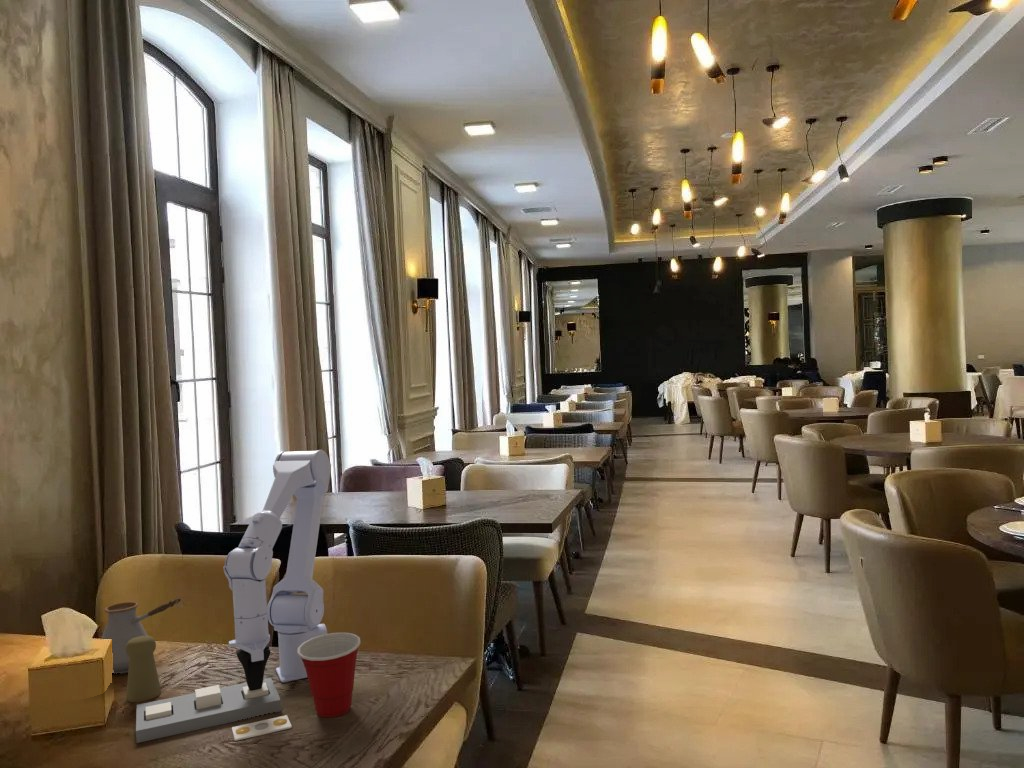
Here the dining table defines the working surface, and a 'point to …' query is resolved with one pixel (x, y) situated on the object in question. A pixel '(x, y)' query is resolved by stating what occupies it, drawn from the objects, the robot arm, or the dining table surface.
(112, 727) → the dining table surface
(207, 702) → the button middle
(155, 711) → the button
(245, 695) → the button
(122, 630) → the coffee pot
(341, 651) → the plastic cup
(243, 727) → the card
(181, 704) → the button board
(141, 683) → the olive pepper shaker
